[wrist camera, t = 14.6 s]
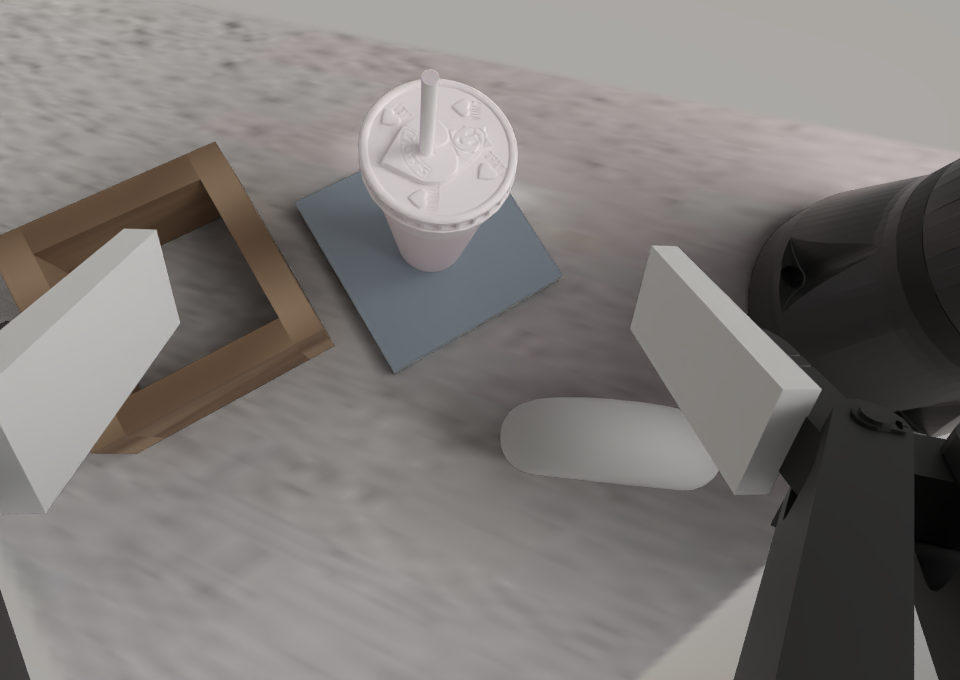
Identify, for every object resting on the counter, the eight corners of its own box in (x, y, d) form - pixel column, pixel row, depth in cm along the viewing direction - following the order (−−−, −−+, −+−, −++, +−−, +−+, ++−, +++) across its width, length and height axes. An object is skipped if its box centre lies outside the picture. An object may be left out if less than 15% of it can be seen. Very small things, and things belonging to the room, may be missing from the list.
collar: (334, 345, 30) (323, 329, 26) (136, 453, 27) (91, 453, 24) (239, 180, 31) (215, 141, 27) (42, 270, 29) (-16, 241, 25)
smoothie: (357, 204, 31) (316, 7, 17) (465, 175, 32) (506, -31, 18) (393, 310, 30) (380, 189, 16) (502, 276, 31) (576, 137, 17)
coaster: (559, 280, 32) (562, 275, 31) (394, 374, 30) (394, 372, 29) (462, 129, 33) (464, 121, 33) (297, 208, 31) (294, 202, 30)
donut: (662, 426, 31) (775, 412, 22) (659, 488, 30) (776, 503, 21) (489, 404, 30) (526, 380, 21) (482, 468, 29) (517, 475, 20)
